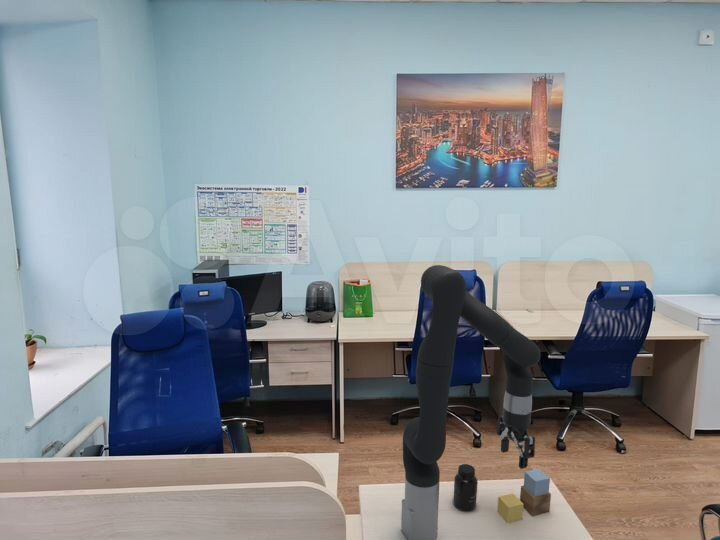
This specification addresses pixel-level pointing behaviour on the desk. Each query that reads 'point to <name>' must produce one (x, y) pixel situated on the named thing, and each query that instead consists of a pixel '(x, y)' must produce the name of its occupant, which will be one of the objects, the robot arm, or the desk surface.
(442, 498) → the desk surface
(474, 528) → the desk surface
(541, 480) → the tower mid
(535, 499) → the tower base
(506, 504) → the top block
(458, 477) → the supplement bottle
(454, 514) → the desk surface
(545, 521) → the desk surface
